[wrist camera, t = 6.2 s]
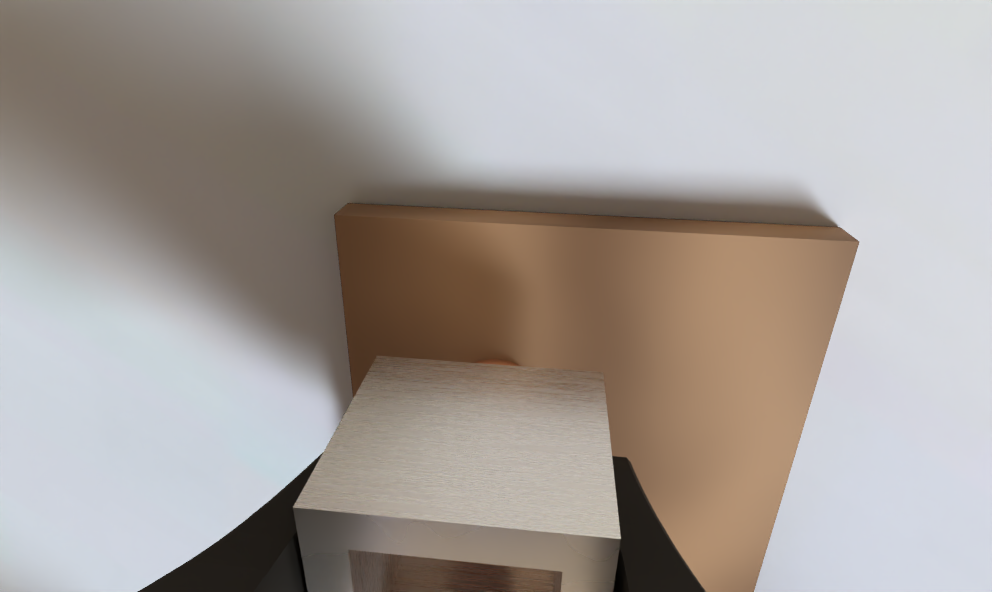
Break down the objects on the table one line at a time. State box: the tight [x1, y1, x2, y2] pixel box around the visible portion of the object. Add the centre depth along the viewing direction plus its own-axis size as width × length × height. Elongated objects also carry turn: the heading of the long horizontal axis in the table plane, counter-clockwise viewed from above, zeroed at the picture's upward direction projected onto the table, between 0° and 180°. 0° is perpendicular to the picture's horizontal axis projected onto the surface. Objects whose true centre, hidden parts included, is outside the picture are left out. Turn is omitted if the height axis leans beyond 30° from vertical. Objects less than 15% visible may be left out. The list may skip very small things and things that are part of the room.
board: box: [334, 203, 859, 592], centre depth 18 cm, size 12×18×1 cm, turn 179°
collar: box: [293, 356, 621, 592], centre depth 12 cm, size 5×5×4 cm
